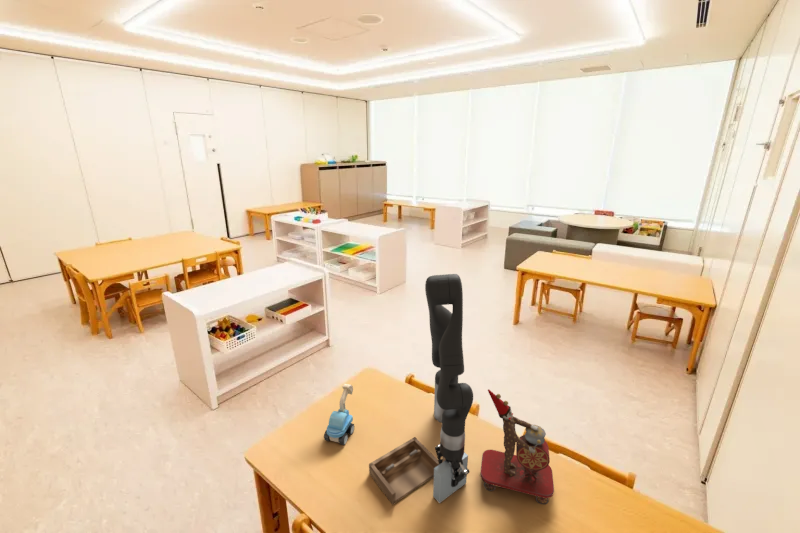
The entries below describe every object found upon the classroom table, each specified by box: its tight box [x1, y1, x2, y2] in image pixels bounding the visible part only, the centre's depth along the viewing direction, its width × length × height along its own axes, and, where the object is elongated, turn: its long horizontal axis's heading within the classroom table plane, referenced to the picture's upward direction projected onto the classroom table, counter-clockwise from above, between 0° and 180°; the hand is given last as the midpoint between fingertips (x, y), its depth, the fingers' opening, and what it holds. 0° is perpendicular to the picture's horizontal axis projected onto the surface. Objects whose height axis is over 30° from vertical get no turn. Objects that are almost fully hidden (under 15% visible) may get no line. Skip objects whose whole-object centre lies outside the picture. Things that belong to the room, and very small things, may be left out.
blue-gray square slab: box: [432, 451, 469, 504], centre depth 116 cm, size 12×3×12 cm, turn 126°
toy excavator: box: [323, 383, 355, 446], centre depth 140 cm, size 9×17×17 cm, turn 161°
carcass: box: [368, 436, 439, 506], centre depth 124 cm, size 20×14×5 cm
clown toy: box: [479, 389, 555, 505], centre depth 115 cm, size 13×23×35 cm, turn 73°
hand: (450, 481), depth 117 cm, fingers closed on blue-gray square slab, 3 cm apart
